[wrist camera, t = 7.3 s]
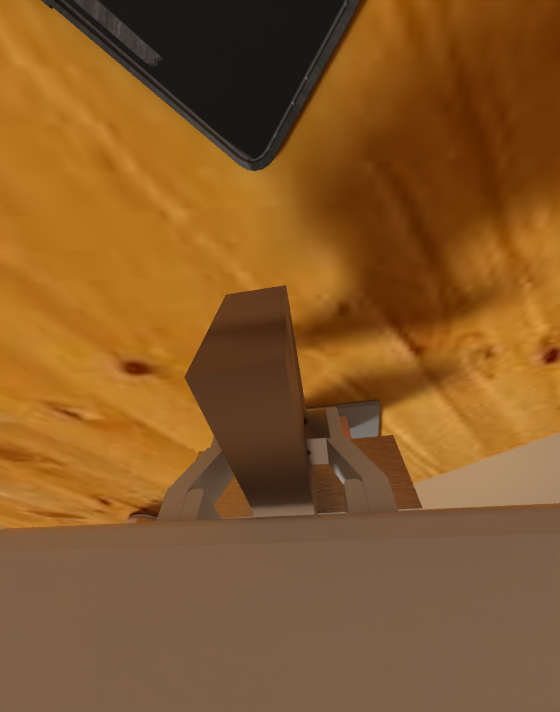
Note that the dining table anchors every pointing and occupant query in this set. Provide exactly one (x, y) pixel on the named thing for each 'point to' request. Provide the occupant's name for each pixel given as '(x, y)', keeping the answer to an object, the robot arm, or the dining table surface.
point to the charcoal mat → (360, 417)
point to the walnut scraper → (272, 415)
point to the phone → (221, 60)
